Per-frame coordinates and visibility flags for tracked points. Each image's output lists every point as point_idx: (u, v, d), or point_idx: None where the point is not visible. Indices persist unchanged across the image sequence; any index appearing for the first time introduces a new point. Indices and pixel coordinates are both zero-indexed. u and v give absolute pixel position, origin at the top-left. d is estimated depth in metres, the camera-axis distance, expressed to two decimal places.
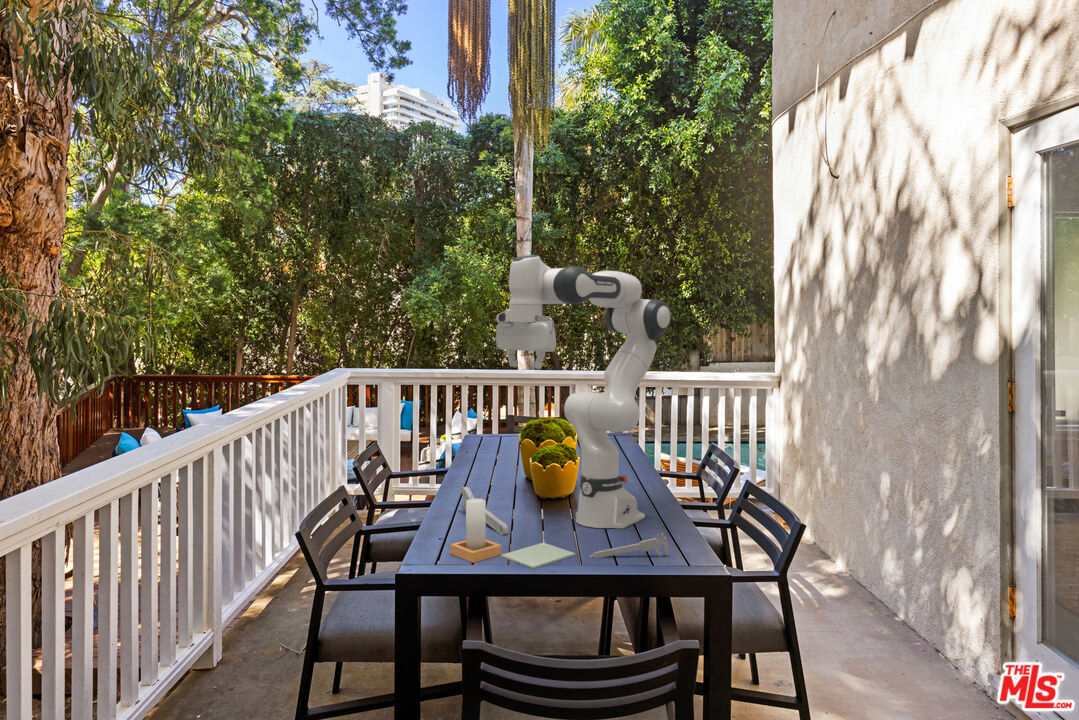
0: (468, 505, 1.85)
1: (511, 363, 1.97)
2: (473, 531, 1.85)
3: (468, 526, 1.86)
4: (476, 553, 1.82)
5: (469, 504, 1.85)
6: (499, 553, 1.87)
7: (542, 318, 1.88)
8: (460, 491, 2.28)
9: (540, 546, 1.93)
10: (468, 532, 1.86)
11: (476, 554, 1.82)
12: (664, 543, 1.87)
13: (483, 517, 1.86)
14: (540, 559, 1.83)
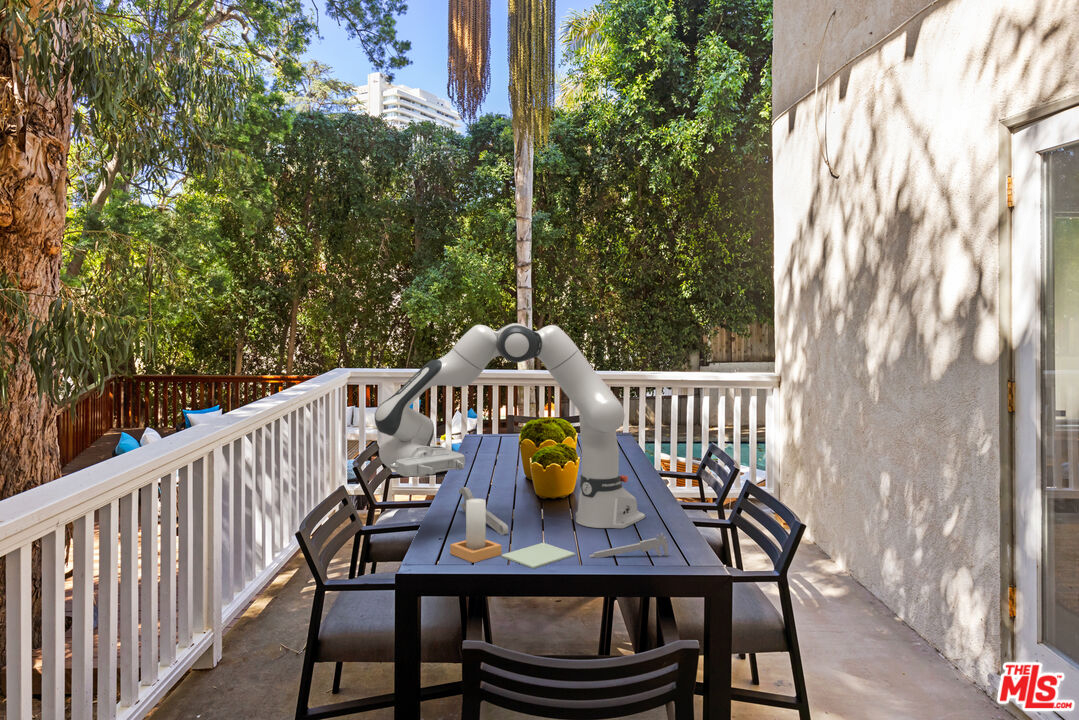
0: (468, 505, 1.85)
1: None
2: (473, 531, 1.85)
3: (468, 526, 1.86)
4: (476, 553, 1.82)
5: (469, 504, 1.85)
6: (499, 553, 1.87)
7: None
8: (460, 491, 2.28)
9: (540, 546, 1.93)
10: (468, 532, 1.86)
11: (476, 554, 1.82)
12: (664, 543, 1.87)
13: (483, 517, 1.86)
14: (540, 559, 1.83)
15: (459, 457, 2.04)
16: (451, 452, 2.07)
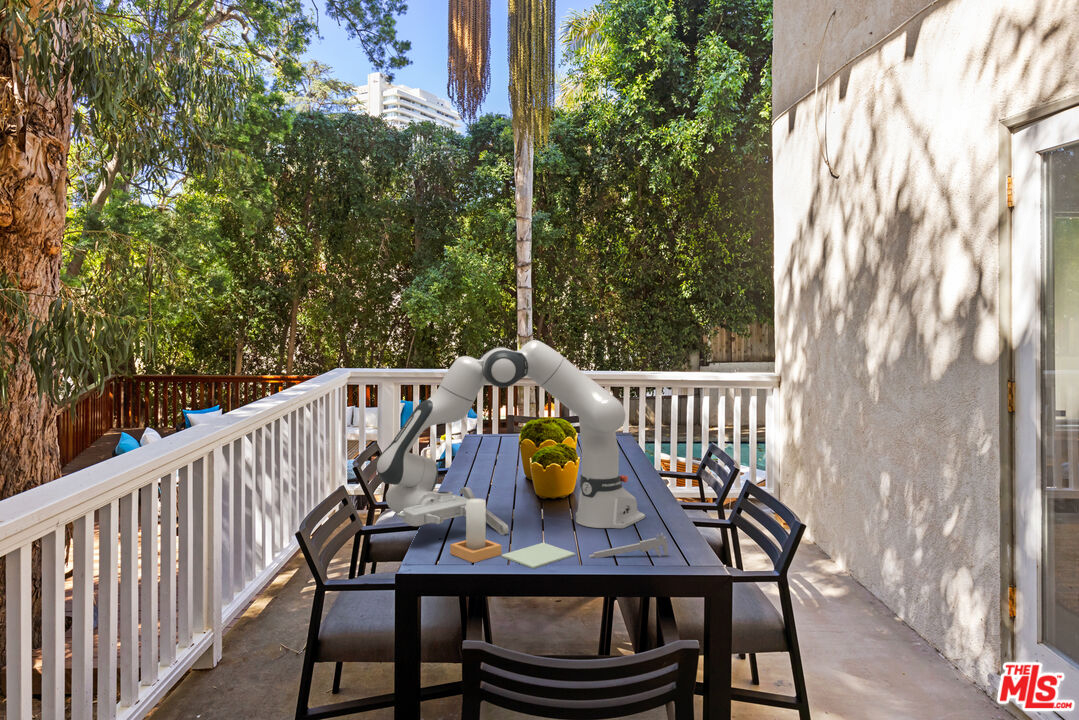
0: (468, 505, 1.85)
1: None
2: (473, 531, 1.85)
3: (468, 526, 1.86)
4: (476, 553, 1.82)
5: (469, 504, 1.85)
6: (499, 553, 1.87)
7: None
8: (461, 491, 2.28)
9: (540, 546, 1.93)
10: (468, 532, 1.86)
11: (476, 554, 1.82)
12: (664, 543, 1.87)
13: (483, 517, 1.86)
14: (540, 559, 1.83)
15: None
16: (458, 497, 2.06)
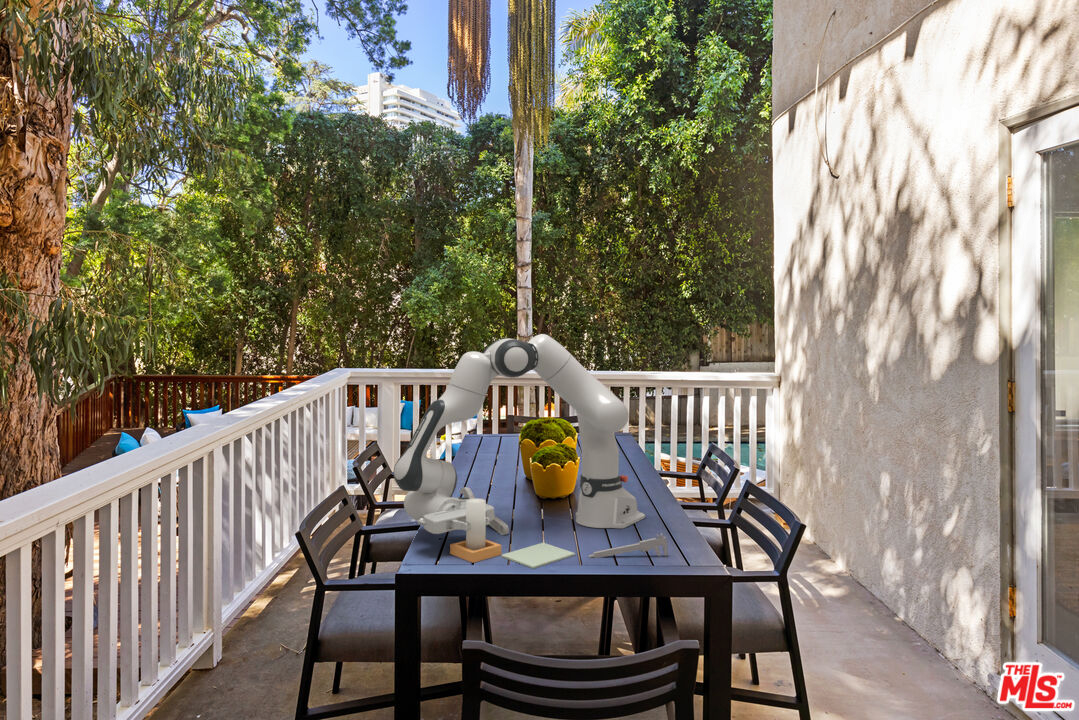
0: (468, 505, 1.85)
1: None
2: (473, 531, 1.85)
3: None
4: (476, 553, 1.82)
5: (469, 504, 1.85)
6: (499, 553, 1.87)
7: None
8: (461, 491, 2.28)
9: (540, 546, 1.93)
10: (468, 532, 1.86)
11: (476, 554, 1.82)
12: (664, 543, 1.87)
13: (483, 517, 1.86)
14: (540, 559, 1.83)
15: (488, 510, 1.95)
16: None
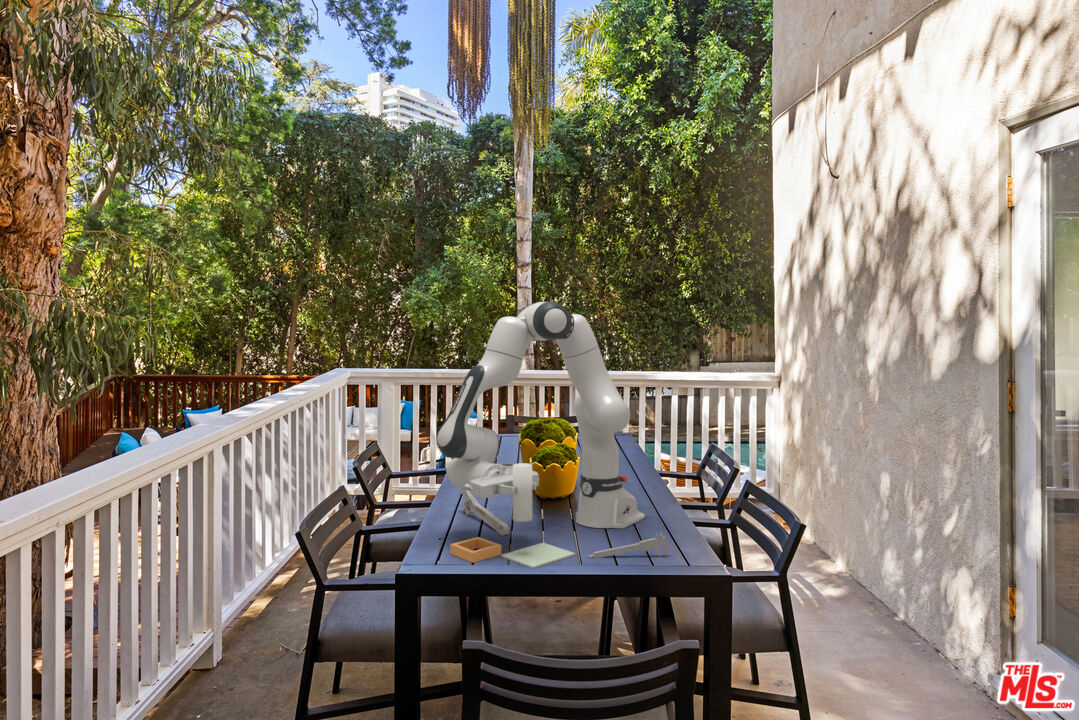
0: (515, 469, 1.84)
1: None
2: (521, 495, 1.84)
3: None
4: (476, 553, 1.82)
5: (516, 468, 1.84)
6: (499, 553, 1.87)
7: None
8: (461, 491, 2.27)
9: (540, 546, 1.93)
10: (515, 496, 1.85)
11: (476, 554, 1.82)
12: (664, 543, 1.87)
13: (530, 481, 1.85)
14: (540, 559, 1.83)
15: (534, 475, 1.94)
16: None
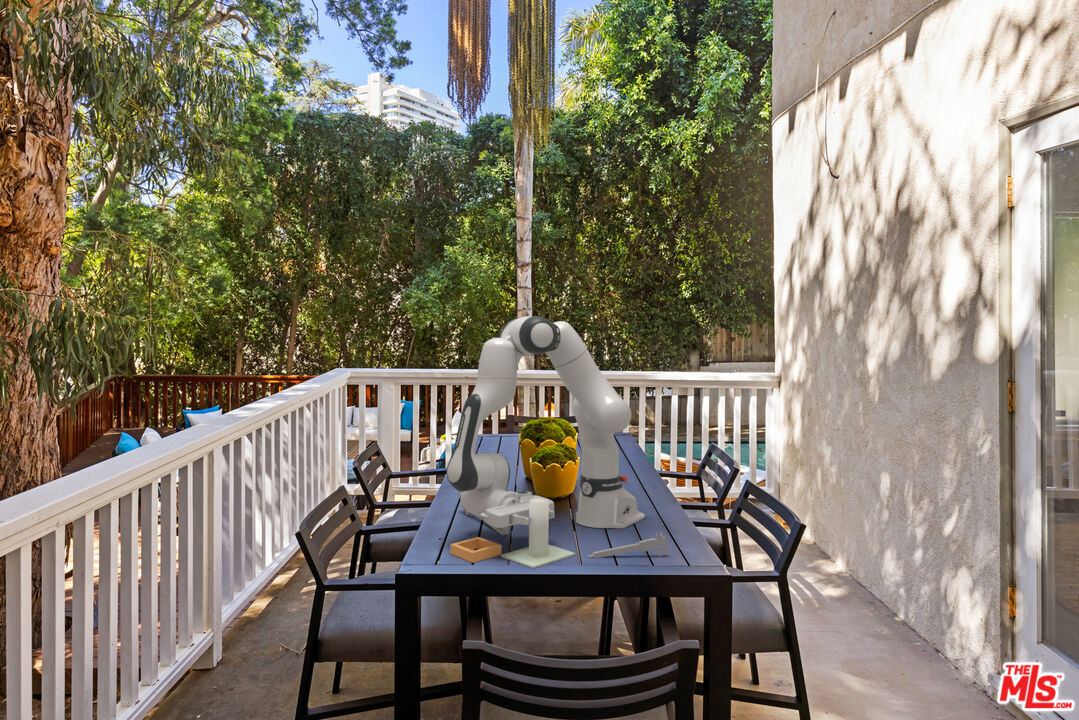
0: (532, 504, 1.84)
1: None
2: (537, 531, 1.84)
3: (532, 526, 1.85)
4: (476, 553, 1.82)
5: (533, 504, 1.84)
6: (499, 553, 1.87)
7: None
8: None
9: None
10: (531, 532, 1.85)
11: (476, 554, 1.82)
12: (663, 543, 1.87)
13: (547, 517, 1.85)
14: (540, 559, 1.83)
15: (549, 504, 1.94)
16: None
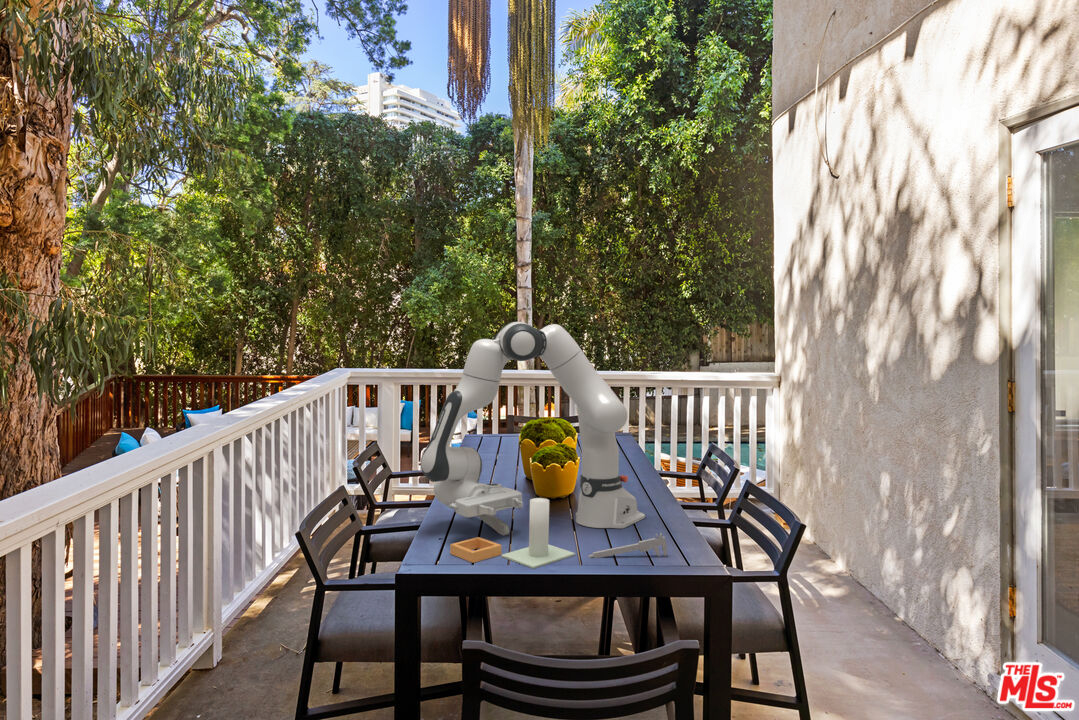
0: (533, 504, 1.84)
1: None
2: (537, 530, 1.84)
3: (532, 525, 1.85)
4: (476, 553, 1.82)
5: (533, 503, 1.84)
6: (499, 553, 1.87)
7: None
8: None
9: None
10: (532, 532, 1.85)
11: (476, 554, 1.82)
12: (663, 543, 1.87)
13: (547, 517, 1.85)
14: (540, 559, 1.83)
15: (517, 495, 2.03)
16: (508, 489, 2.07)
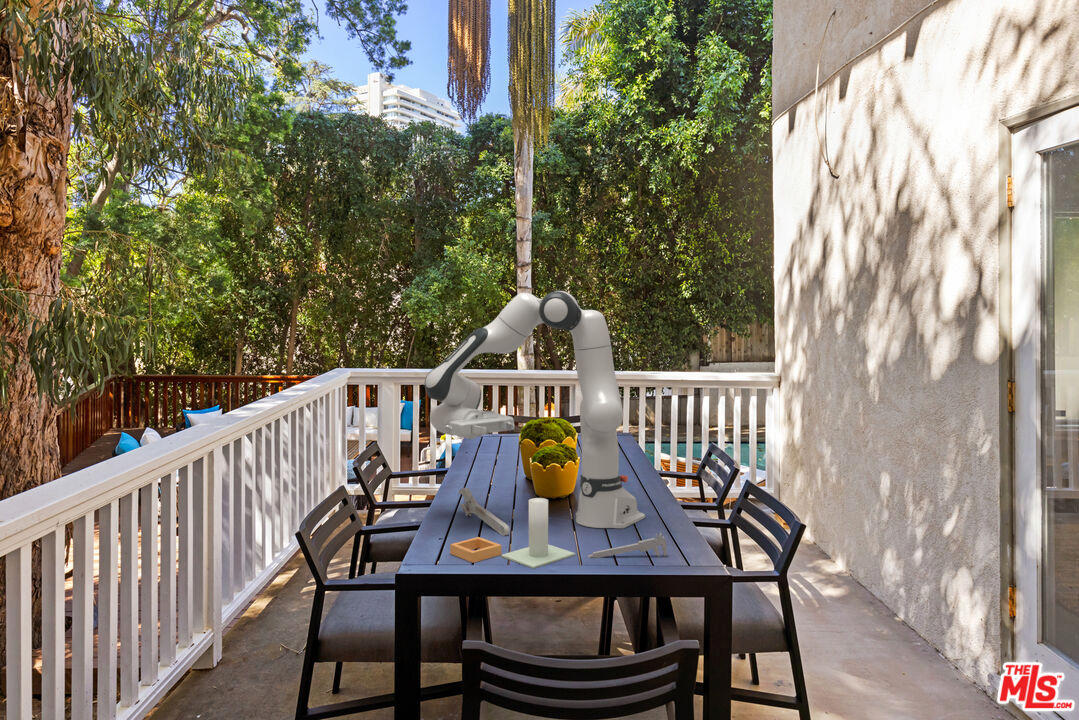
0: (532, 505, 1.84)
1: None
2: (537, 531, 1.84)
3: (531, 526, 1.84)
4: (476, 553, 1.82)
5: (532, 504, 1.84)
6: (499, 553, 1.87)
7: None
8: (460, 492, 2.27)
9: None
10: (531, 532, 1.85)
11: (476, 554, 1.82)
12: (663, 543, 1.87)
13: (546, 517, 1.85)
14: (540, 559, 1.83)
15: (509, 419, 2.12)
16: (500, 415, 2.16)
